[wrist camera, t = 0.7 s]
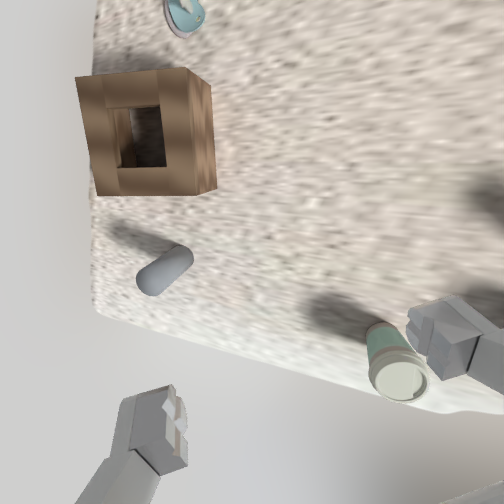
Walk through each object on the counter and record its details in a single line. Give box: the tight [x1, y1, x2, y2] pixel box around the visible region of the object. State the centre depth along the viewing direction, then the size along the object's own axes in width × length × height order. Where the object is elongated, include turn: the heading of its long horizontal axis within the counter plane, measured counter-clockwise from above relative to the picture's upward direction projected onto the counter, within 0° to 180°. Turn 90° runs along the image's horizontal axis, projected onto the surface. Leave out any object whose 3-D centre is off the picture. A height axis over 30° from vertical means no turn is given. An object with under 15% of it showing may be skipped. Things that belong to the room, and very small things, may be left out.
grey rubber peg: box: [136, 245, 194, 296], centre depth 50 cm, size 5×5×12 cm
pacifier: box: [165, 0, 205, 38], centre depth 40 cm, size 7×6×6 cm
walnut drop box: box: [75, 67, 217, 196], centre depth 45 cm, size 16×16×10 cm
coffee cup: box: [366, 322, 430, 403], centre depth 47 cm, size 9×9×12 cm
